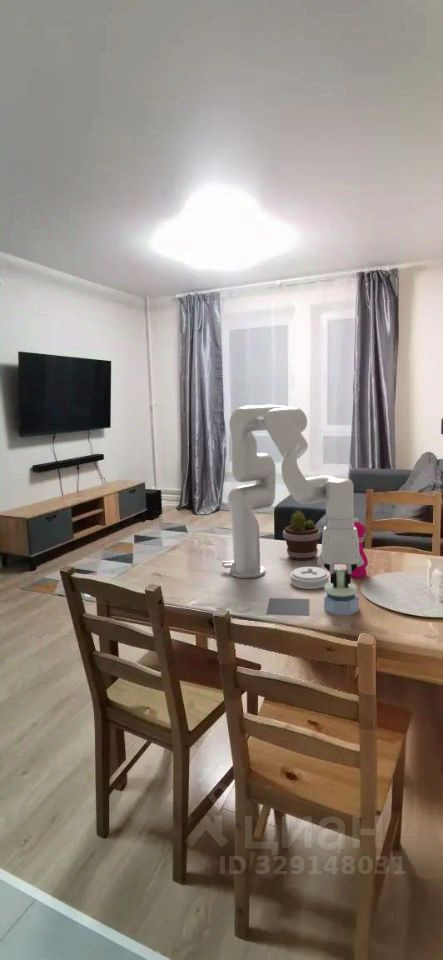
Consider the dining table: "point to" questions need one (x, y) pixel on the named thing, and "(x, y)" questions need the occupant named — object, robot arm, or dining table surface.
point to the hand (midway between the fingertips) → (340, 585)
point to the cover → (340, 585)
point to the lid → (309, 577)
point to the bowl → (341, 604)
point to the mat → (288, 606)
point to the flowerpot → (301, 538)
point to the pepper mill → (360, 550)
